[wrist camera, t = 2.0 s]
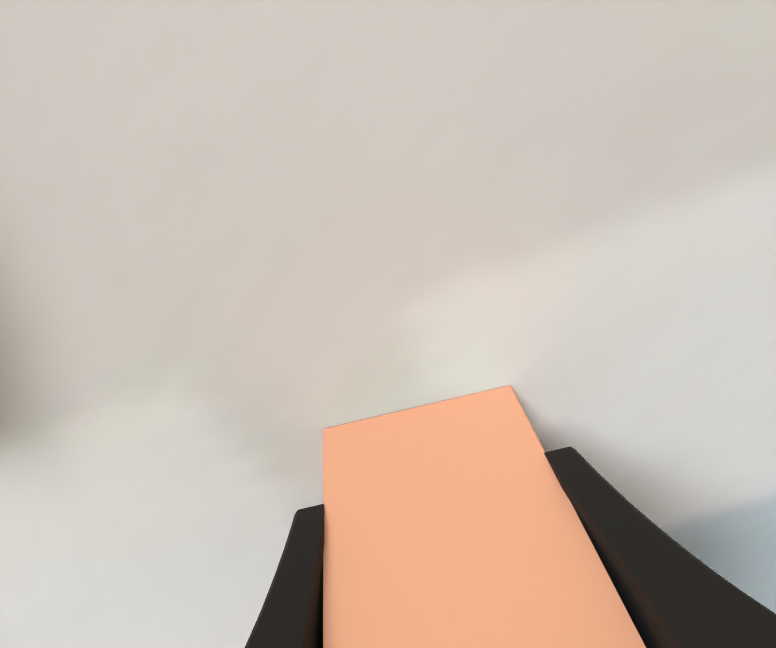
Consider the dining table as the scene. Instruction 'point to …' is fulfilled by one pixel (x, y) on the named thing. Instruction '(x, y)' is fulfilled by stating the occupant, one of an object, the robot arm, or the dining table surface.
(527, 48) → the dining table surface
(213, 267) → the dining table surface
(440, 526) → the terracotta domino
